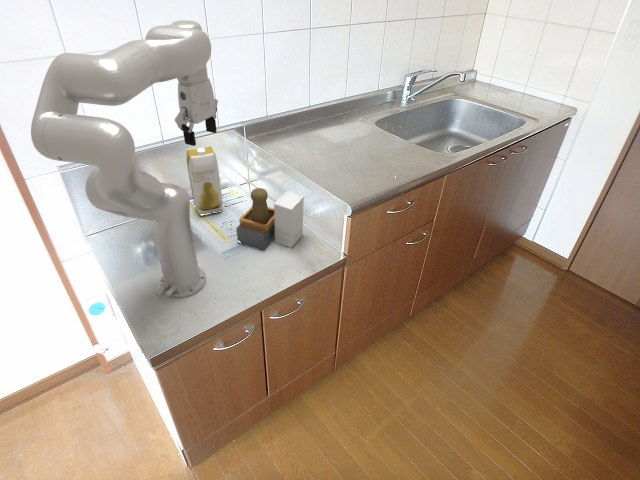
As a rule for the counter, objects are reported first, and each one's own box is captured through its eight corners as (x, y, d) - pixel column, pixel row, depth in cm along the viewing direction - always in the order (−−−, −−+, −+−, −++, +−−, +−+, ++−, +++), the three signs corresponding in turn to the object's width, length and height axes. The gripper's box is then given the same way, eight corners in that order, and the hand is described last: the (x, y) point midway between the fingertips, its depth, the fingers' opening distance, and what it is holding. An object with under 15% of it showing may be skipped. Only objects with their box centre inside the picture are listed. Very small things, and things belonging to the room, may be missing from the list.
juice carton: (198, 218, 142) (187, 155, 127) (193, 207, 147) (182, 144, 132) (225, 213, 145) (217, 150, 130) (219, 201, 151) (211, 140, 136)
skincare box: (287, 229, 139) (286, 189, 129) (304, 235, 137) (305, 195, 127) (274, 243, 133) (272, 202, 123) (292, 249, 131) (292, 208, 121)
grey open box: (264, 250, 130) (263, 230, 125) (238, 242, 132) (235, 222, 127) (283, 226, 140) (283, 207, 135) (258, 220, 143) (257, 200, 138)
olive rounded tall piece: (252, 226, 129) (250, 196, 123) (250, 215, 134) (247, 186, 127) (271, 224, 131) (270, 194, 124) (268, 213, 135) (267, 184, 129)
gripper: (182, 87, 98) (193, 152, 109) (224, 69, 111) (229, 129, 121) (157, 81, 100) (170, 147, 111) (200, 65, 113) (208, 125, 124)
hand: (201, 138), depth 116 cm, fingers open, 9 cm apart
